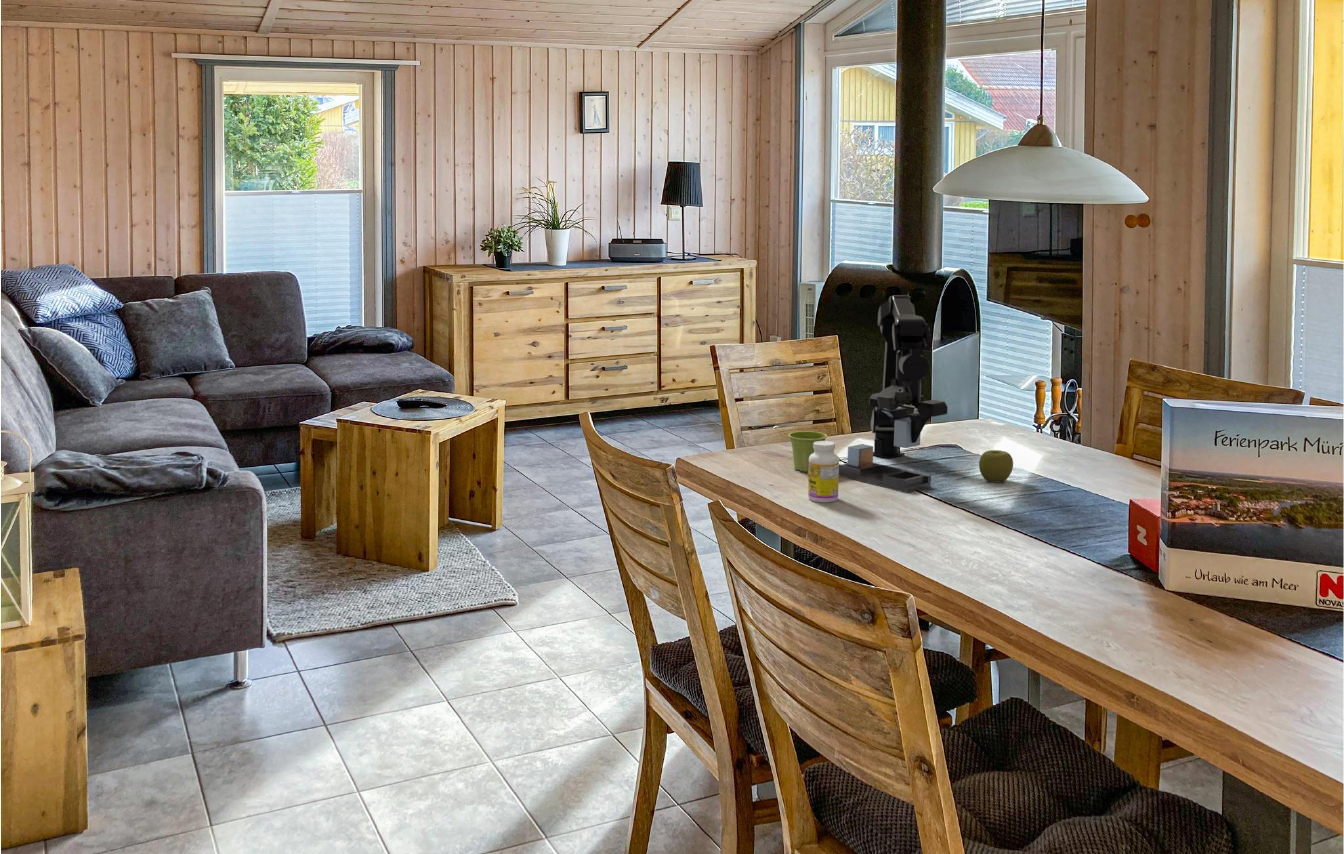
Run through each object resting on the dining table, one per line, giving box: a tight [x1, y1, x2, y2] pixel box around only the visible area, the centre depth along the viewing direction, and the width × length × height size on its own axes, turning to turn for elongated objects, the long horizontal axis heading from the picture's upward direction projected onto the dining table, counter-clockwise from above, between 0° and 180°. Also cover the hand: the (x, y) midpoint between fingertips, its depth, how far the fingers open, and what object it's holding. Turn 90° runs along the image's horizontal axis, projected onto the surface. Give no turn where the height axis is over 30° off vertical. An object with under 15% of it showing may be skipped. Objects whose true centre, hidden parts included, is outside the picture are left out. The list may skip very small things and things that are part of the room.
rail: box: [839, 443, 932, 493], centre depth 281 cm, size 8×22×7 cm, turn 38°
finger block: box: [894, 418, 921, 449], centre depth 274 cm, size 5×4×6 cm
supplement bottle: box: [807, 440, 840, 504], centre depth 265 cm, size 7×7×13 cm
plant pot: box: [788, 430, 828, 473], centre depth 294 cm, size 9×9×9 cm
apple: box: [978, 449, 1014, 483], centre depth 281 cm, size 8×8×7 cm
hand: (906, 441), depth 275 cm, fingers closed on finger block, 4 cm apart
